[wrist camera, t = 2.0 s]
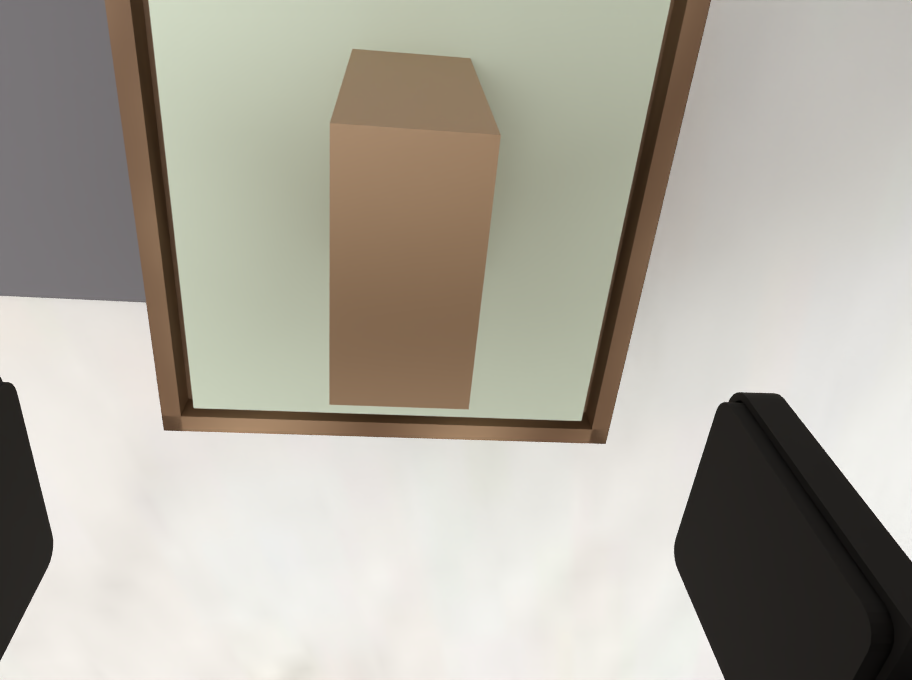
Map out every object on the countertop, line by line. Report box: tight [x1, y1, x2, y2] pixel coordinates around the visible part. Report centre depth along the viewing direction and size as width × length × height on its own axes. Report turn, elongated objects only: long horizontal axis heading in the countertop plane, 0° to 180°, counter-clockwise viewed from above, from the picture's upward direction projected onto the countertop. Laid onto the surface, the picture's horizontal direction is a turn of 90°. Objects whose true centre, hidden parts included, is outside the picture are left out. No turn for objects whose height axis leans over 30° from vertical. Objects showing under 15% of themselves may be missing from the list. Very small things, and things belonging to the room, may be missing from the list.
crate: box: [105, 0, 711, 444], centre depth 25 cm, size 15×19×10 cm
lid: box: [148, 0, 671, 421], centre depth 18 cm, size 13×17×8 cm
